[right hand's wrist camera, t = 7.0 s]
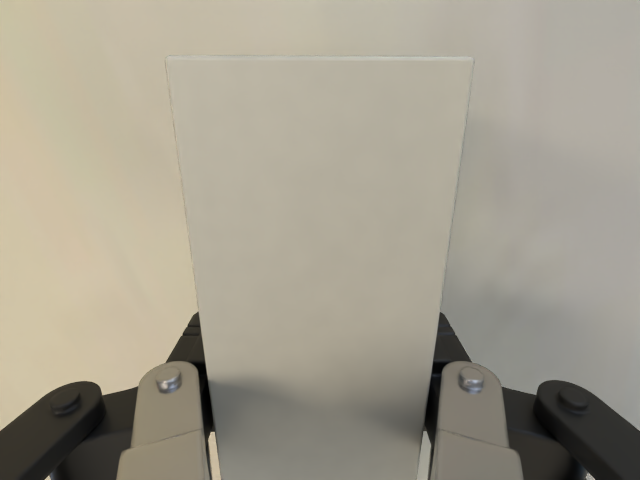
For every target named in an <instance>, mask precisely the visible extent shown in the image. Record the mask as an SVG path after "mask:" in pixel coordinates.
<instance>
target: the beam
mask: <svg viewBox="0 0 640 480" xmlns="http://www.w3.org/2000/svg"><path fill="white" fill-rule="evenodd" d="M474 63H475V62H474V58H472V57H470V56H243V55H169V56H167V57H166V58H165V66H166V73H167V81H168V88H169V95H170V103H171V110H172V118H173V125H174V132H175V140H176V147H177V155H178V162H179V170H180V177H181V184H182V192H183V199H184V207H185V214H186V222H187V229H188V236H189V244H190V251H191V259H192V266H193V273H194V281H195V288H196V296H197V303H198V311H199V318H200V325H201V333H202V340H203V348H204V355H205V362H206V370H207V377H208V385H209V392H210V400H211V407H212V414H213V422H214V429H215V437H216V444H217V452H218V459H219V466H220V474H221V480H416V479H417V472H418V465H419V458H420V451H421V444H422V436H423V429H424V422H425V415H426V408H427V400H428V393H429V386H430V379H431V372H432V365H433V357H434V350H435V343H436V336H437V329H438V322H439V314H440V307H441V300H442V293H443V286H444V278H445V271H446V264H447V257H448V250H449V243H450V235H451V228H452V221H453V214H454V207H455V200H456V192H457V185H458V178H459V171H460V164H461V157H462V149H463V142H464V135H465V128H466V121H467V113H468V106H469V99H470V92H471V85H472V78H473V70H474Z"/></svg>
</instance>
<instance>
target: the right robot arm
mask: <svg viewBox="0 0 640 480" xmlns="http://www.w3.org/2000/svg"><path fill="white" fill-rule="evenodd" d="M423 431H427V434H428V437H429V440H430V443H431V449H430V458H429V469H428V479H427V480H586V476H587V473H588V472H589V473H590V474H591V475H592V476H593V477H594V479H595V480H640V431H639V430H638V429H636V428H635V427H634V426H633V425H631V424H630V423H629V422H628V421H626V420H625V419H624V418H623V417H621V416H620V415H619V414H618V413H616V412H615V411H614V410H613V409H611V408H610V407H609V406H608V405H606V404H605V403H604V402H603V401H601V400H600V399H599V398H598V397H596V396H595V395H594V394H592V393H591V392H589V391H588V390H586V389H584V388H582V387H580V386H577V385H575V384H572V383H569V382H565V381H559V380H550V381H546V382H543V383H541V384H540V385H539V387H538V390H537V394H536V395H533V394H529V393H524V392H520V391H516V390H511V389H508V388H504V387H502V386H501V383H500V381H499V379H498V378H497V376H496V375H495V374H494V373H492V372H491V371H490V370H488V369H487V368H485V367H483V366H481V365H478V364H476V363H472V362H471V360H470V358H469V357H468V355H467V353H466V351H465V350H464V348H463V346H462V344H461V343H460V341H459V339H458V338H457V336H456V335H455V332H454V331H453V329H452V327H450V324H449V322H448V320H447V319H446V317H445V315H444V314H443V313H441V312H440V314H439V322H438V329H437V336H436V343H435V350H434V357H433V365H432V372H431V379H430V386H429V393H428V400H427V408H426V415H425V422H424V429H423ZM210 432H215V429H214V422H213V414H212V407H211V400H210V392H209V385H208V377H207V370H206V362H205V355H204V348H203V340H202V333H201V325H200V318H199V311H198V312H197V313H196V314H194V315H193V317H192V319H191V320H190V322H189V324H188V327H186V329H185V331H184V332H183V336H181V337H180V339H179V341H178V342H177V344H176V346H175V348H174V349H173V351H172V353H171V354H170V356H169V358H168V359H167V361H166V363H164V364H162V365H159V366H157V367H155V368H153V369H152V370H150V371H149V372H148V373H146V374H145V375H144V376H143V378H142V379H141V381H140V383H139V386H137V387H135V388H132V389H128V390H124V391H120V392H116V393H111V394H107V395H103V396H102V392H101V389H100V387H99V386H98V385H97V384H95V383H93V382H88V381H81V382H74V383H70V384H67V385H64V386H61V387H59V388H57V389H55V390H53V391H51V392H50V393H48V394H46V395H45V396H44V397H42V398H41V399H40V400H39V401H37V402H36V403H35V404H34V405H32V406H31V407H30V408H29V409H27V410H26V411H25V412H24V413H22V414H21V415H20V416H19V417H17V418H16V419H15V420H14V421H12V422H11V423H10V424H9V425H7V426H6V427H5V428H4V429H2V430H1V431H0V480H45V479H46V477H47V476H48V475H49V476H50V478H51V480H213V479H212V469H211V459H210V450H209V443H208V438H209V435H210Z"/></svg>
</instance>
